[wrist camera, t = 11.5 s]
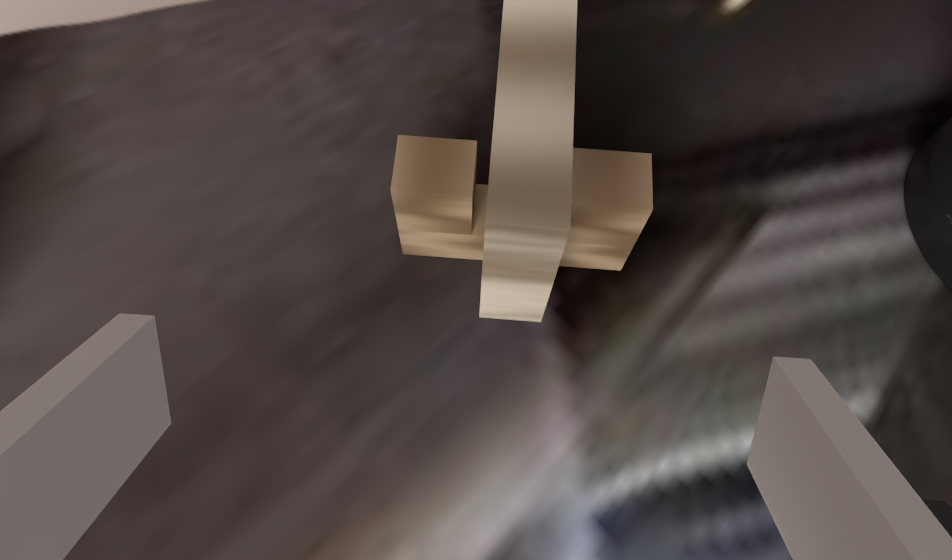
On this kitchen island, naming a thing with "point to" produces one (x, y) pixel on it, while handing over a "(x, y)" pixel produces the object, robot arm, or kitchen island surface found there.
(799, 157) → the kitchen island surface
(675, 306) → the kitchen island surface
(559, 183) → the cream wavy slab
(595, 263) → the oak slot board
